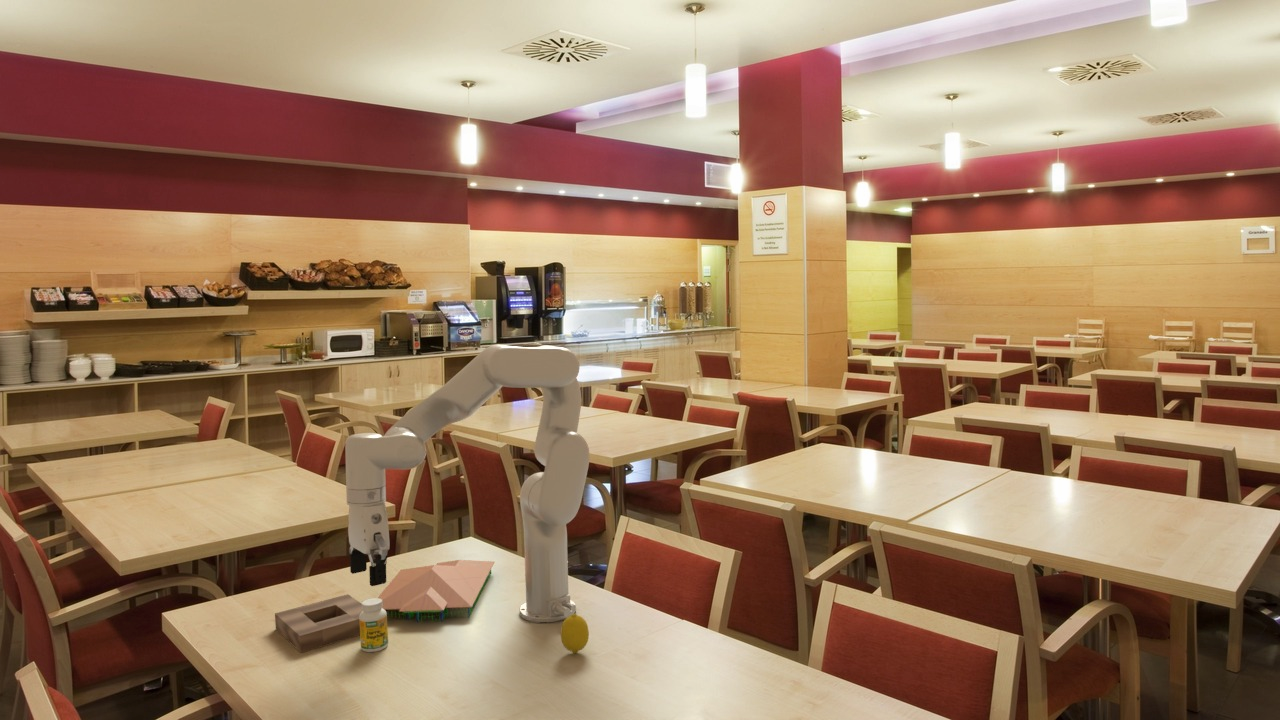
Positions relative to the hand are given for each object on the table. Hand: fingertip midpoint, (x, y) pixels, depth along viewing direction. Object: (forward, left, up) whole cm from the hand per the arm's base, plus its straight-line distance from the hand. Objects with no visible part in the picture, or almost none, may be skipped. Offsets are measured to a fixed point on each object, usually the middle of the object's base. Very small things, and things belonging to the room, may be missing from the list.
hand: (368, 578), depth 161 cm
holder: (+16, +3, -15) cm, 22 cm away
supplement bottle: (0, -1, -15) cm, 15 cm away
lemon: (-31, -29, -15) cm, 45 cm away
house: (+16, -23, -15) cm, 32 cm away
